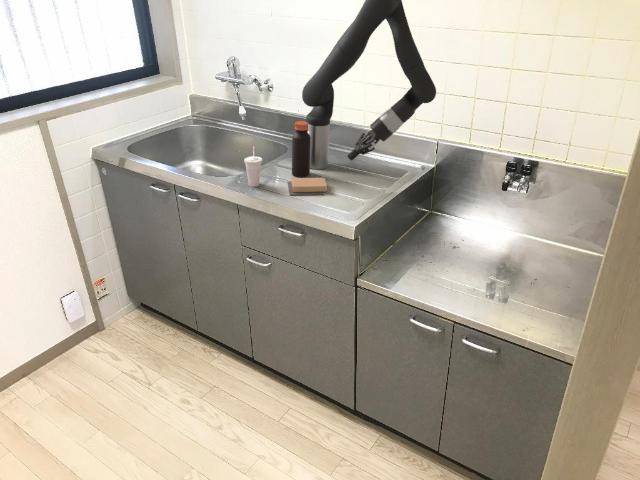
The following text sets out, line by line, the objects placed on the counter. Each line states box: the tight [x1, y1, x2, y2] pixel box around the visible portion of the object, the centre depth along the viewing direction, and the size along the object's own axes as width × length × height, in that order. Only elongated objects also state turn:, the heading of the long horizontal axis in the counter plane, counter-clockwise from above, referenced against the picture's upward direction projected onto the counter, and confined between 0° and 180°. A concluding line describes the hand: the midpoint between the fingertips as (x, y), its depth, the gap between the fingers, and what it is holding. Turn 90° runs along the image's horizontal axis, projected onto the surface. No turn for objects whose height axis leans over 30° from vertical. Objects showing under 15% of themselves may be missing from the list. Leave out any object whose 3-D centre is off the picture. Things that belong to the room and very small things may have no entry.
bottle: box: [291, 120, 311, 178], centre depth 199 cm, size 7×7×20 cm
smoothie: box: [243, 146, 263, 187], centre depth 190 cm, size 6×6×14 cm
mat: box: [287, 181, 325, 197], centre depth 192 cm, size 12×12×1 cm
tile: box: [290, 177, 328, 193], centre depth 191 cm, size 2×8×12 cm
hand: (349, 158), depth 188 cm, fingers closed
